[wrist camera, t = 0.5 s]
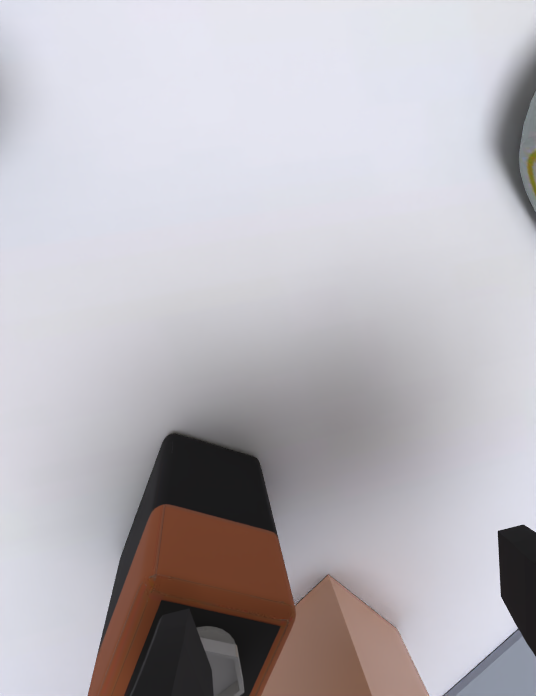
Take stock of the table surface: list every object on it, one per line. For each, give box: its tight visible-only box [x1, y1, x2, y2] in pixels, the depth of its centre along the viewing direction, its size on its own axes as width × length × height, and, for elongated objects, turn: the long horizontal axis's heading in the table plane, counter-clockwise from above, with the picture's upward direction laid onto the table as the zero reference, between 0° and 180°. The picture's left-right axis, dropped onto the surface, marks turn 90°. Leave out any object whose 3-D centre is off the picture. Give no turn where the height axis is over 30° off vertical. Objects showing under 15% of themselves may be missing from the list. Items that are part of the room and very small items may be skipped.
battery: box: [88, 434, 296, 696], centre depth 17 cm, size 4×7×10 cm, turn 159°
